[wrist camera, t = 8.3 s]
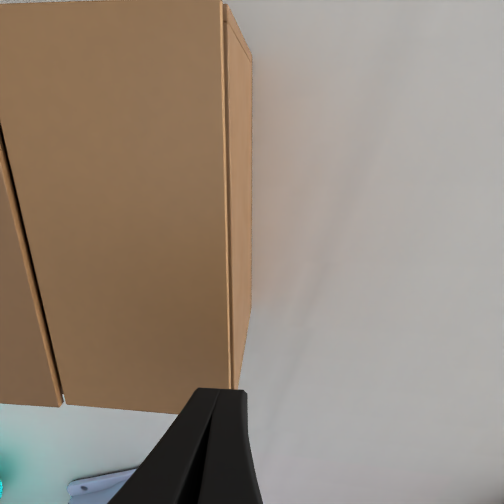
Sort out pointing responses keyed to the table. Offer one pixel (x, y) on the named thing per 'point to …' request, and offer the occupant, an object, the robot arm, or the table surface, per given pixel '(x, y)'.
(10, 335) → the carton
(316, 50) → the table surface
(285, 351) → the table surface
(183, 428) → the robot arm
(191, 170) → the flap
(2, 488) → the donuts
